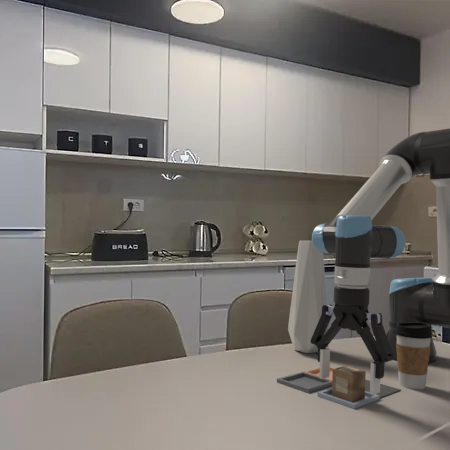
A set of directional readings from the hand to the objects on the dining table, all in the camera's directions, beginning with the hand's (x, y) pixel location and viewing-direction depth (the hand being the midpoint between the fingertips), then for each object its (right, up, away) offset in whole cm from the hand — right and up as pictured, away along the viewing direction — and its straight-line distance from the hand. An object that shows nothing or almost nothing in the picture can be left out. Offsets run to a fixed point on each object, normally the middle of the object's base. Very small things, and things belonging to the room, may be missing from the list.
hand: (348, 385), depth 110 cm
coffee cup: (+18, -4, +10) cm, 21 cm away
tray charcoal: (-8, -3, +9) cm, 12 cm away
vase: (-2, -3, +42) cm, 42 cm away
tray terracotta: (-1, -3, +15) cm, 16 cm away
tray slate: (0, -3, 0) cm, 3 cm away
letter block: (0, -3, 0) cm, 3 cm away
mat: (+7, -3, +6) cm, 10 cm away
